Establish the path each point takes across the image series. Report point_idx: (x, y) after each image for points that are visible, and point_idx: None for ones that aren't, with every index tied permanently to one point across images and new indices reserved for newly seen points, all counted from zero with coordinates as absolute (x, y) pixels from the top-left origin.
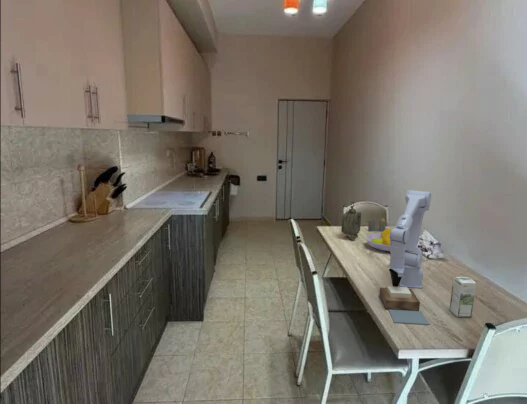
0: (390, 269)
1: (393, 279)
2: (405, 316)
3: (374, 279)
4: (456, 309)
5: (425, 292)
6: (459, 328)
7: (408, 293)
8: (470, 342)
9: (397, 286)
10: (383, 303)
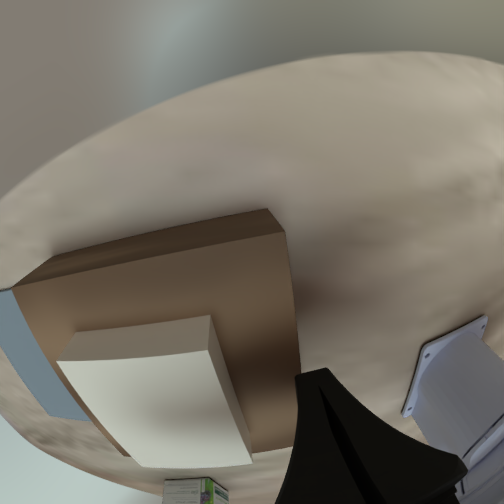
0: (434, 494)
1: (292, 450)
2: (37, 355)
3: (501, 194)
4: (170, 499)
5: None
6: (95, 464)
7: (133, 457)
8: (47, 452)
9: (297, 403)
10: (91, 249)
